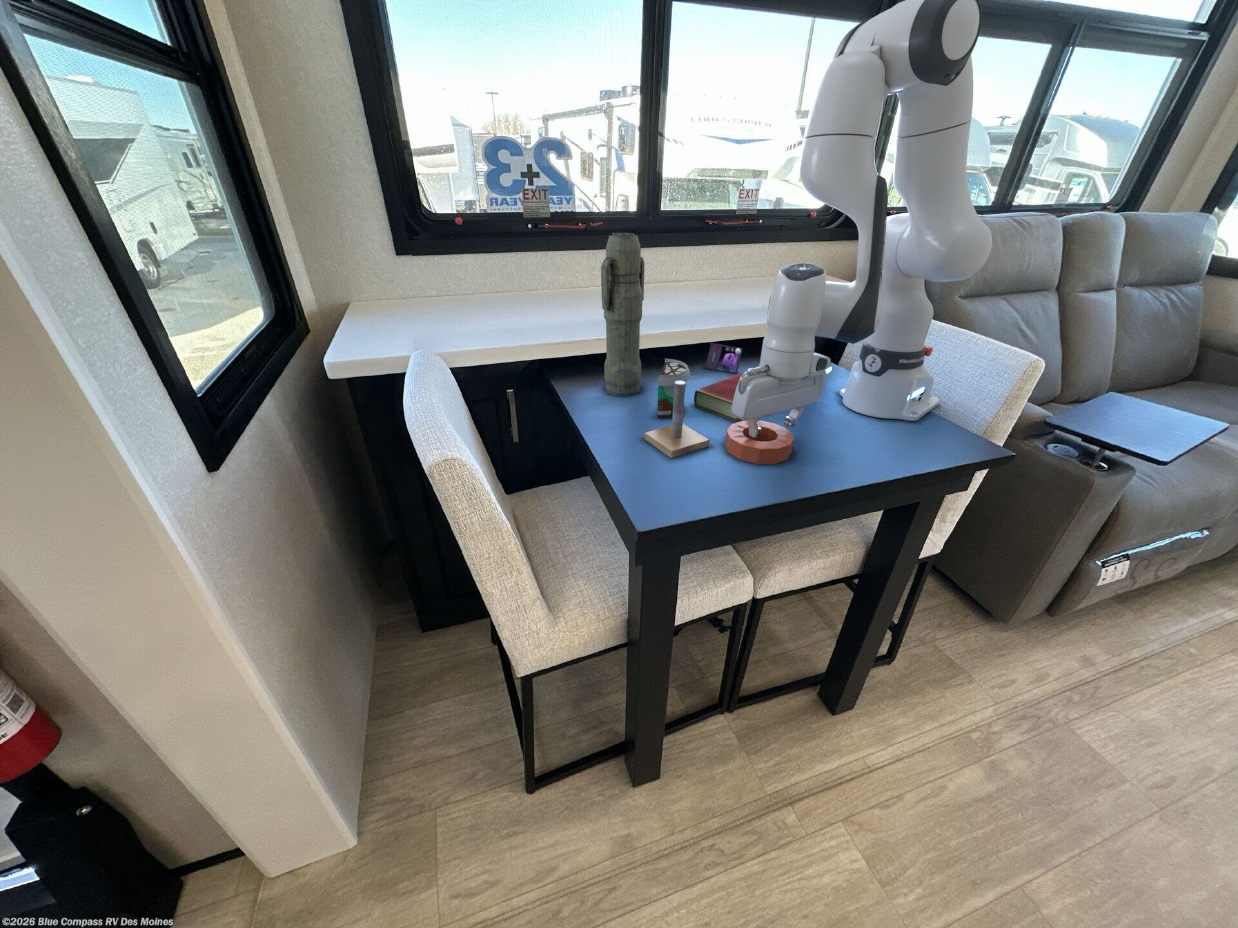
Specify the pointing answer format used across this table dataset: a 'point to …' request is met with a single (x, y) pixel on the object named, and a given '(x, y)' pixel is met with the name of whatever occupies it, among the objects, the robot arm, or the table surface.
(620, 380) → the grey-green tall cylinder
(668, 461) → the table surface
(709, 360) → the purple rectangular box
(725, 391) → the hardcover book
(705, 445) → the stand
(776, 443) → the ring
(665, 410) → the food container
